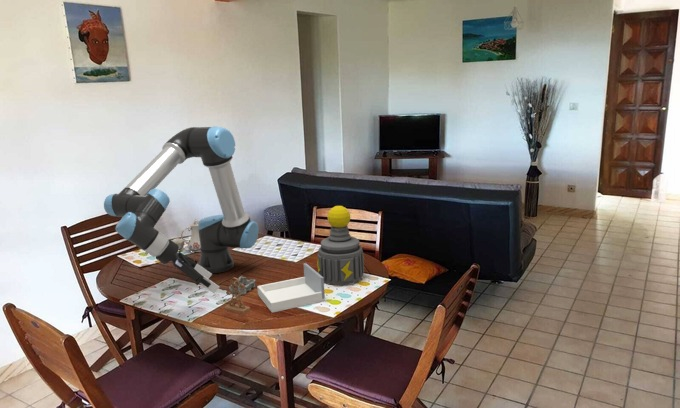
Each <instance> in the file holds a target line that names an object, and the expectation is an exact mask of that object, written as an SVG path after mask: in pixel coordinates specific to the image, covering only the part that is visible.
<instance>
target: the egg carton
mask: <svg viewBox="0 0 680 408" xmlns="http://www.w3.org/2000/svg"><path fill="white" fill-rule="evenodd" d="M237 279H238V280H239V283H240V284H244V286H245V289H244V291H243V292H241V291H242V290H243V289H242V288H238V290H237V294H238V292H239V291H240V292H241V293H240V296H243V295H247V292H250V291H252V288H254V289H255V288H256V279H255V278H253V279H252V278H249V279H248V277H246V276H243V275H240V276H239V277H238V278H237ZM234 284H235V285H236V284H238V283H235V282H234ZM240 284H239V285H240ZM230 286H232V285H231V284H230ZM237 286H238V285H237ZM237 286H236V287H237ZM241 286H242V285H241ZM228 287H229V286H228ZM238 287H239V286H238ZM242 287H243V286H242ZM229 290H230V291H232V290H234V295H235V293H236V292H235V289H233V287H229Z"/></svg>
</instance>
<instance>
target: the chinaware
mask: <svg viewBox="0 0 680 408" xmlns="http://www.w3.org/2000/svg"><path fill="white" fill-rule="evenodd" d="M199 221H200V220H198V219H197V218H195V219H194V221H193V222H192V223H189V226H190V227H189V226H188V227H185V228H183V229H182V230H181V233H180V237H181V238H180V237H179V238H178V237H177V238H174V239H173V240H172V239H170V240H171V241H173V242H174V243H176V244H177V245H178V246H179V249H178V250H181V251H182V249H183V248H184V246H185V245H187V249H188V250H189V251H192V252H201V246H200V238H199V230H198V229H199V226H198V223H199ZM184 231H188V232H191V236H190V239H186V238H184V237H183V233H184Z"/></svg>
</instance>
